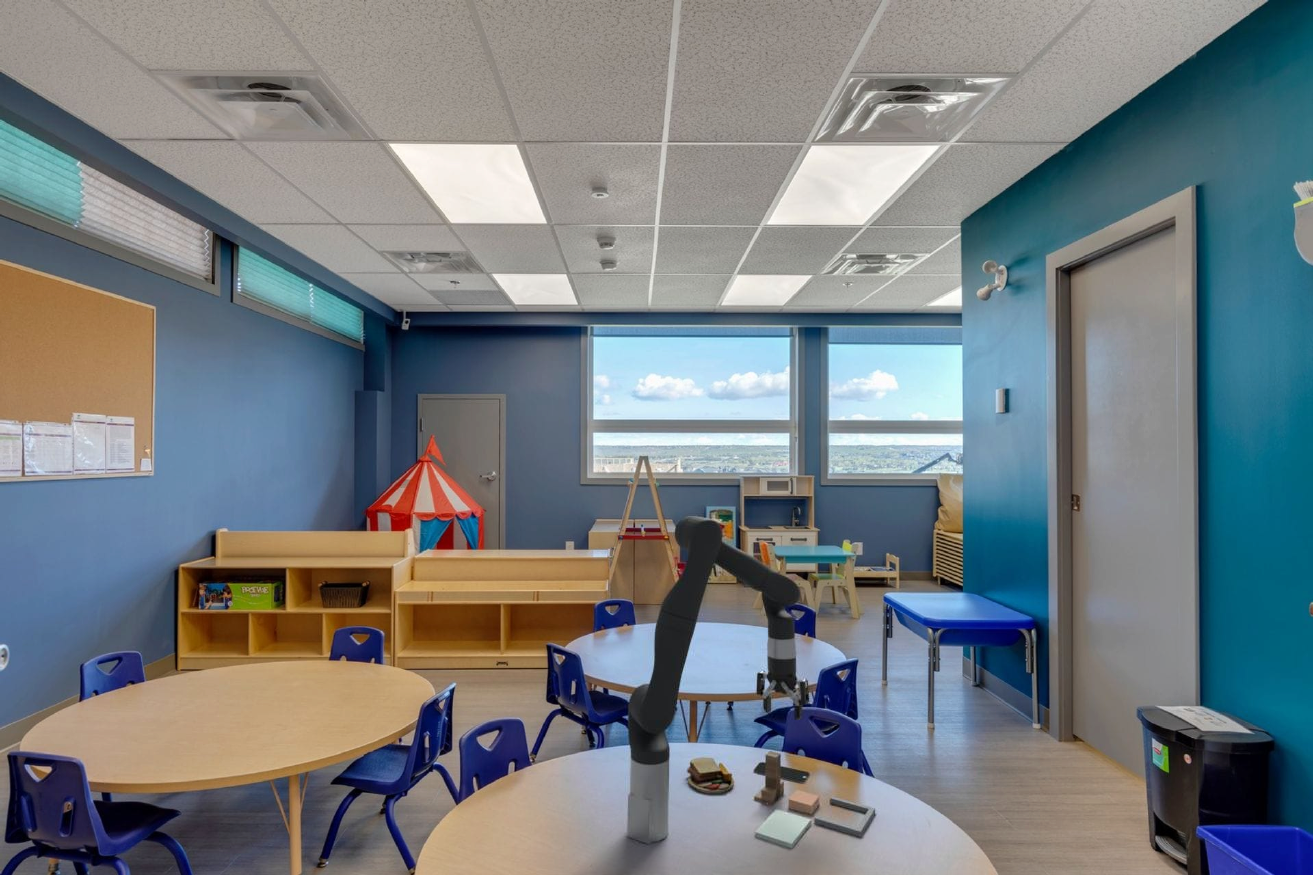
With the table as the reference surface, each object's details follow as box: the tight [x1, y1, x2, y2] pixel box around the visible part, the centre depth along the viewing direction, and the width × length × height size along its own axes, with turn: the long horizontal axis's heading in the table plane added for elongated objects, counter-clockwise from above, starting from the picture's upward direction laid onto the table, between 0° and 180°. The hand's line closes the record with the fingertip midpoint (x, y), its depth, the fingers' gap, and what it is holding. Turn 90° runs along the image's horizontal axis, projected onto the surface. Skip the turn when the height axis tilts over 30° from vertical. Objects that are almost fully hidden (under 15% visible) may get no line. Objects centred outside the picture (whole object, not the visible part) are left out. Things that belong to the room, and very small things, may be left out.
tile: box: [788, 789, 820, 815], centre depth 171 cm, size 6×6×2 cm
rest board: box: [754, 808, 812, 849], centre depth 159 cm, size 13×9×1 cm
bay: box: [813, 795, 876, 838], centre depth 165 cm, size 13×11×1 cm
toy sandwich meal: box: [686, 757, 735, 794], centre depth 183 cm, size 12×14×5 cm
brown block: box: [753, 750, 785, 806], centre depth 176 cm, size 8×5×11 cm, turn 148°
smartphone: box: [753, 761, 811, 784], centre depth 190 cm, size 8×1×15 cm
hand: (782, 715), depth 177 cm, fingers open, 8 cm apart
